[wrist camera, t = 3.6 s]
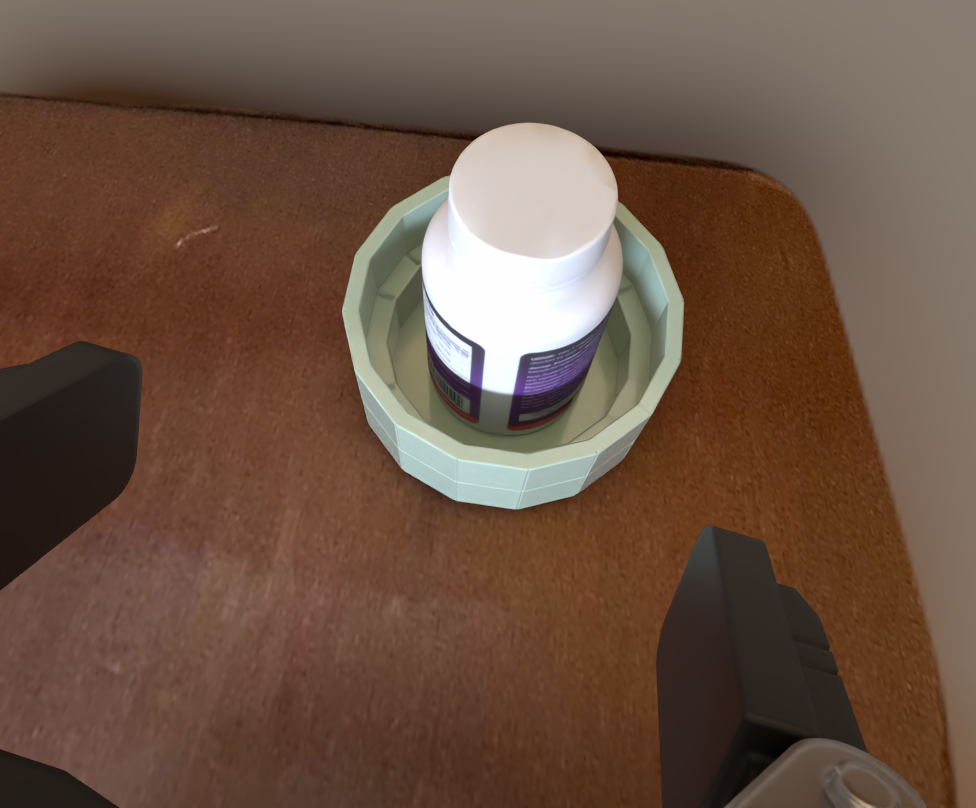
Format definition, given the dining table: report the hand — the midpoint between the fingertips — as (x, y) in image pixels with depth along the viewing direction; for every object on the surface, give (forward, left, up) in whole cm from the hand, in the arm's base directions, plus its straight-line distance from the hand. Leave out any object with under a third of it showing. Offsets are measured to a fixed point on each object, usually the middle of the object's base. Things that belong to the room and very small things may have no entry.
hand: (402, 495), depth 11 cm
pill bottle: (-1, -9, -14) cm, 17 cm away
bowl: (-1, -9, -15) cm, 17 cm away
